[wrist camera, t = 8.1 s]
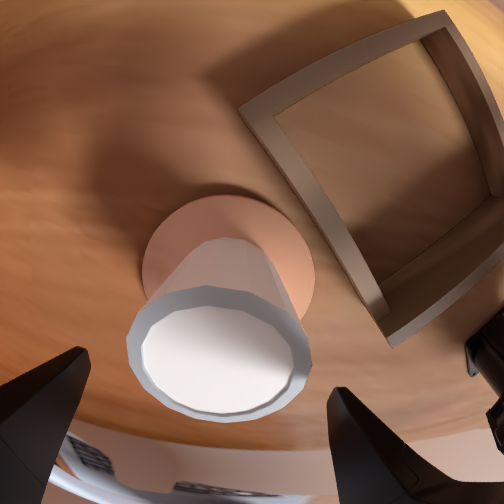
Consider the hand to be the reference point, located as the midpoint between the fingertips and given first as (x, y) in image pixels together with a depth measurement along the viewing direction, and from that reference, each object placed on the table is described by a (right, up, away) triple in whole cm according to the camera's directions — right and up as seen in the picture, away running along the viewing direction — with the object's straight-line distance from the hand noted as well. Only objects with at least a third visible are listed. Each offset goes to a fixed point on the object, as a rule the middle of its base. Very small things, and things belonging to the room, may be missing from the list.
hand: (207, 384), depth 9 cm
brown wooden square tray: (+11, +10, +5) cm, 16 cm away
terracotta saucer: (0, +3, +8) cm, 9 cm away
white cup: (0, +3, +7) cm, 8 cm away
